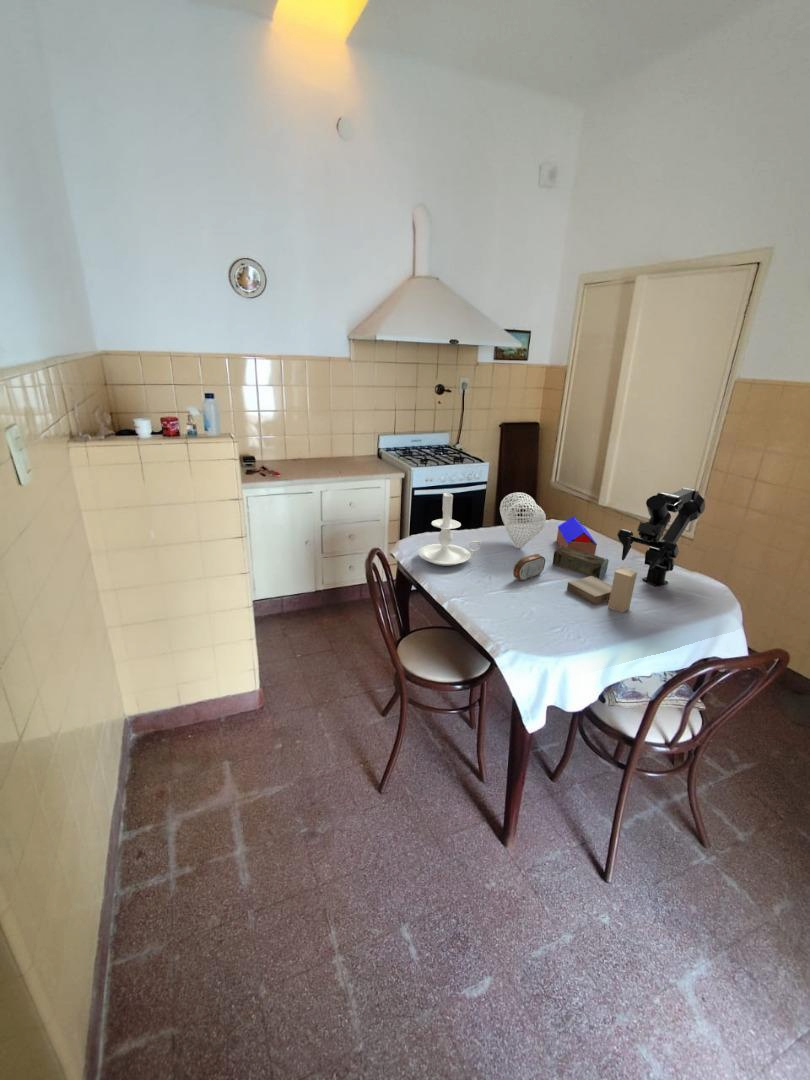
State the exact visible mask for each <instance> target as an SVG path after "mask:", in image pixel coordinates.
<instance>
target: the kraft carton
mask: <svg viewBox="0 0 810 1080" xmlns="http://www.w3.org/2000/svg"><path fill="white" fill-rule="evenodd" d="M637 575H638V571H635V570H632V569H629V568H625V567H620V568H619V569H617V570H615V571H614V576H613V581H612V584H611V585H612V589H611V594H610V599H609V600H608V605H607V607H608V608H609V609H613V610H614V611H617V612H619V613H625V612H626V611H627V610H629V609H630V606H631V602H632V598H633V593H634V588H635V584H636V580H637Z"/></svg>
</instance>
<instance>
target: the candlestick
mask: <svg viewBox="0 0 810 1080" xmlns="http://www.w3.org/2000/svg"><path fill="white" fill-rule="evenodd" d="M453 500H454V495H453V494H452V493H450V492H443V494H442V510H441V511H442V518H438V519H435V520H432V521H431V523H430V524H431V525H432V526H433V527H435V528H439V529H441V530H440V532H439V533H438V536H437V540H438V543H432V544H428V545H425V546H422V547H421V548H419V550H418V552H417V553H418V556H419V558H421V559H423V560H424V561H427V562H429V563H431V564H434V565H437V566H443V567H444V566H447V567H448V566H449V567H450V566H455V565H459V564H461V563H462V564H463V563H466V562H467V561H468V560H469V559H470V558H471V557H475V555H476V553H477V552H478V551H479V550H480V548H481V545H480V543H482V542H483V541H482V540H473V541H470V542H469V543H468V549H466V548H464V547H463V546H460V545H456V544H451V543H452V542H453V539H454V536H453V534H452V531H451V530H452V529H457V528H460V527H461V526H462V524H461V522H459V521H457V520H455V519H453V518H452V517H453V502H454V501H453ZM473 544H476V545H477V548H475V549H472V548H471V546H472V545H473ZM471 553H472V554H471Z"/></svg>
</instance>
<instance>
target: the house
mask: <svg viewBox="0 0 810 1080" xmlns="http://www.w3.org/2000/svg"><path fill="white" fill-rule="evenodd" d="M557 528H558V529H557V536H556V542H557V545H558V546H559V548H560V547H562V546H564V547H568V548H572V549H575V550H578V551H582V552H585V553H589V554H592V555H595V556H596V551H597V546H598V543H597V542H596V540H595V539H594V538H593V537H592V535H591V534H590V531H588V530H587V528H586V526H584V525H582V523H580V521H579V520H578V519H577V518H575V517H574V516H571V517H570V518H568V520H566V521H564V522H562V523H561V524H559V525H558V526H557Z"/></svg>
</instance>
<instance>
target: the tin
mask: <svg viewBox="0 0 810 1080" xmlns="http://www.w3.org/2000/svg"><path fill="white" fill-rule="evenodd" d="M545 565H546V558H545V557H544V556H543V555H541V554H539V553H535V554H532V555H528V556H524V557H522V558H520V559H519V560H517V562H516V564H515V565H514V568H513V570H512V571H513V572H512V573H513V576H514V578H515V579H518V580H520V581H521V582H522V581H526V580H529V579H532V578H534V577H537V576H539V575H540V574H541V573H542V572H543V571H544V568H545Z"/></svg>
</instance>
